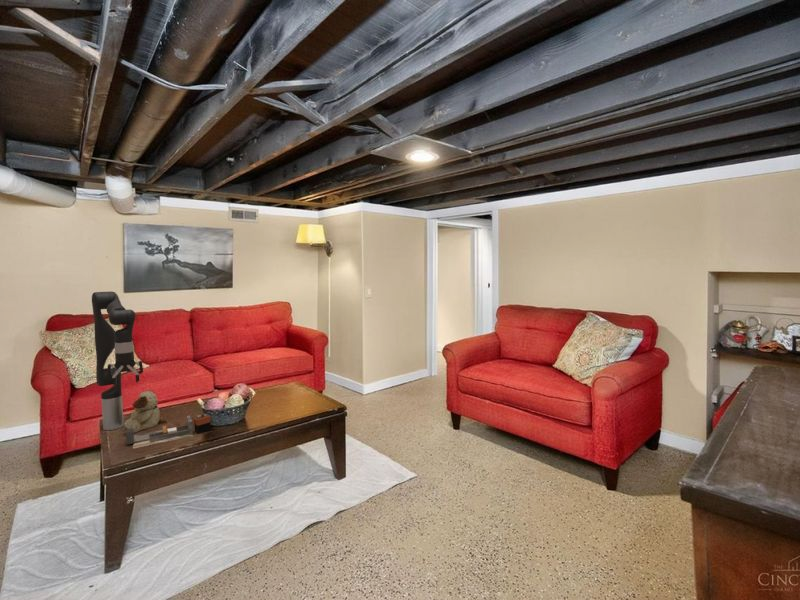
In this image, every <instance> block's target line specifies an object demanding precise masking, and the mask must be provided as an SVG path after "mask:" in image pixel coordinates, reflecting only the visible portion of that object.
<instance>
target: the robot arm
mask: <svg viewBox="0 0 800 600" xmlns="http://www.w3.org/2000/svg"><path fill="white" fill-rule="evenodd" d="M91 305H92V312H93V313H92V314H93V320H94V321H93V322H94V345H95V354H96V365H95V366H96V372H95V374H96V384H97V386H98V387H103V386H105V387H106V386H110V385H113V386H111V387H109V388H107V389H106V390H104V391H102V392H101V394H100V399H101V401H100V402H101V414H102V428H103V430H104V431H113V430H117V429H120V428H122V427H124V423H125V422H124V411H123V410H124V408H123V407H124V406H123V394H122V393H123V392H122V373H125V372H126V373H127V372H130V371H131V372H132V373H133V374H134V375H135V383H138V382H139V381H140V374H143V373H144V367H143V360H139V361H135V351H134V349H135V348H134V341H133V329H134V324H135V323H136V322H135V321H136V313H135V311H134V310H132V309H126V308H125V307H124V306H123V305H122V303H121V300H120V298H119V295H118V294H117V292H115V291H96V292H93V293H92V295H91ZM102 310H106V312H107V314H108V321H109V322H108V321H107V320H106V319H105V317H104V316H103V313H102ZM110 324H111V325H113V326H121V325H125V326H124V327H123V328H120V329H117V330H115V329H114V328H113V326H111V325H110ZM113 351H114V356H115V359H114V360H115V363H113V364H111V363H108V364H107V367H105V365H106V362H107V360H108V359H109V356H110V355H111V354H112V352H113ZM136 365H137V366H138V367H139V370H137V368H135V366H136Z"/></svg>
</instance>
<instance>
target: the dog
mask: <svg viewBox="0 0 800 600" xmlns="http://www.w3.org/2000/svg"><path fill="white" fill-rule="evenodd" d="M158 403H159V401H158V398H157V395H156V394H155V391H153V390H144V391H143V392H140V394H139V396H138V398H137V400H135V401H134V402H133V403H132V407H133V408H134V410H133V411H132V412H131V415H130V418H128V419H127V420H126V421H125V422H124V425H123V427H124V430H126V429H130V428H133V429H134V434H135V433H137V432H139V431H142V430H147V429H150V428H153V427H155V426H158V425H163V424H167V423H168V419H167V418H163V419H161V417H160V416H161V412H160V407H159V406H158Z"/></svg>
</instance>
